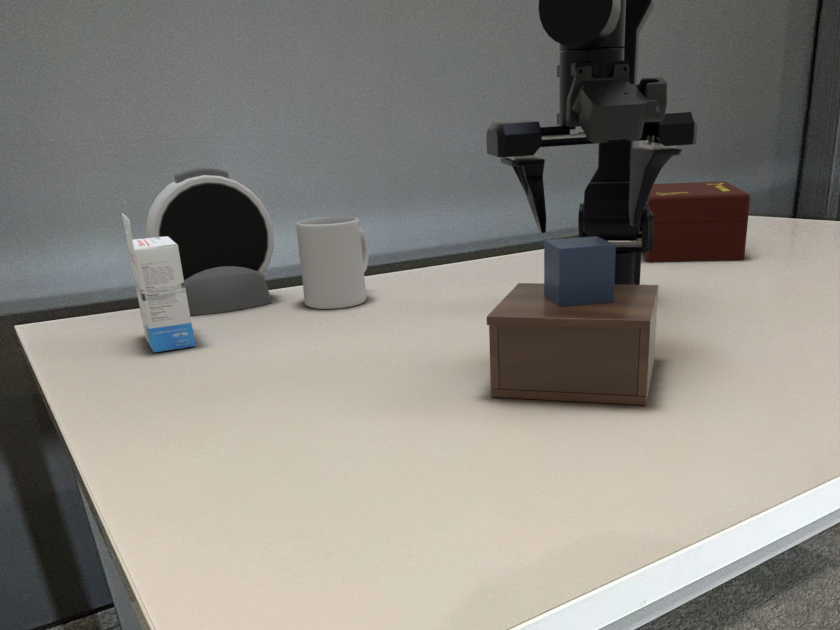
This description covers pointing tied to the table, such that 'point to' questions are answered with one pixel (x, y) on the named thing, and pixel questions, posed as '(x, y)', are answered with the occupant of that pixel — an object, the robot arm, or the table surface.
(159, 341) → the ink box
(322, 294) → the mug
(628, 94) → the robot arm
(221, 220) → the alarm clock
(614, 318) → the lid
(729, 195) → the box
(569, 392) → the box
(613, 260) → the block
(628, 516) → the table surface
